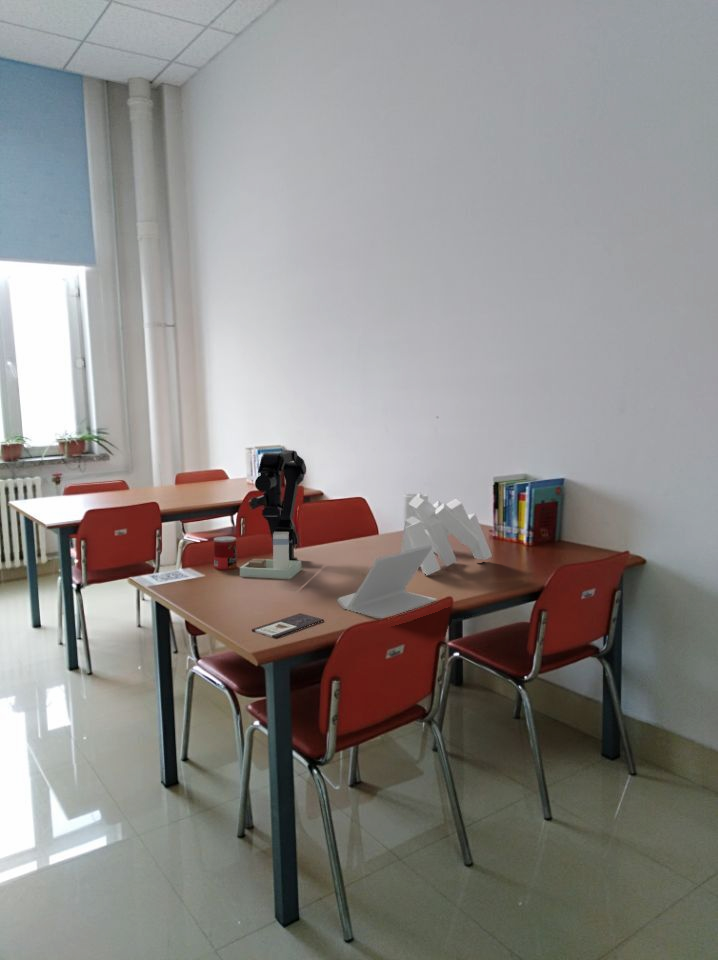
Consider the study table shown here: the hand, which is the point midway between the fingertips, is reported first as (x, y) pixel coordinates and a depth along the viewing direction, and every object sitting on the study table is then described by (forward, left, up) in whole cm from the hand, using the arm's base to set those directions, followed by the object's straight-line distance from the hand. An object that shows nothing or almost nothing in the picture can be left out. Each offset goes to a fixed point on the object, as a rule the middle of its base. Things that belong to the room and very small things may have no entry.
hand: (273, 532), depth 253 cm
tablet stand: (+18, +56, -14) cm, 61 cm away
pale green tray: (+8, +5, -13) cm, 16 cm away
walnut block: (+10, 0, -12) cm, 16 cm away
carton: (+7, +8, -12) cm, 16 cm away
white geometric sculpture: (-32, +51, -13) cm, 62 cm away
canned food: (+10, -14, -13) cm, 22 cm away
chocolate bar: (+50, +44, -14) cm, 68 cm away
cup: (-57, +28, -13) cm, 65 cm away
